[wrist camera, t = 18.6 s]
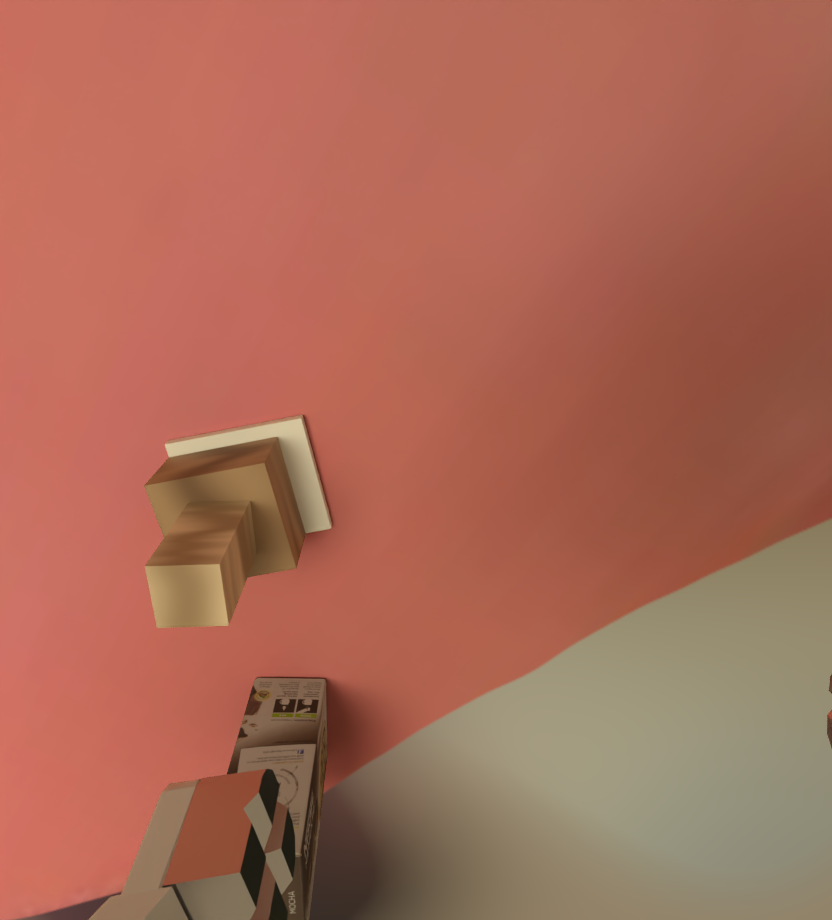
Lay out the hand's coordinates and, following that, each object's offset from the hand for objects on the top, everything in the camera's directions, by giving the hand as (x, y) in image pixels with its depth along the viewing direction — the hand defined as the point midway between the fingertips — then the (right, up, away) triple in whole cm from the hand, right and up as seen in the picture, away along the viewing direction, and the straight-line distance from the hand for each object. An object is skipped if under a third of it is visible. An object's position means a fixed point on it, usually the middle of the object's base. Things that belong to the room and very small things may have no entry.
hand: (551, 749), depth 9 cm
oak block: (-15, 0, +33) cm, 36 cm away
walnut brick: (-15, +2, +38) cm, 41 cm away
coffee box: (-13, -18, +47) cm, 52 cm away
